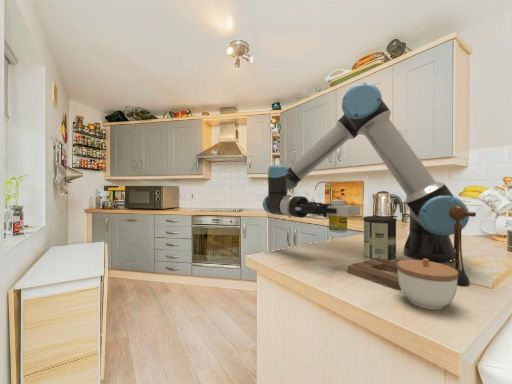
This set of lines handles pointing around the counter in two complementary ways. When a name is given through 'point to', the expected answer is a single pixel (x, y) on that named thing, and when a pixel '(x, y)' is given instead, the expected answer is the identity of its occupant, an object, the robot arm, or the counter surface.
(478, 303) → the counter surface
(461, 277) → the wooden tabletop sculpture
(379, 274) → the walnut socket plate
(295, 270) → the counter surface
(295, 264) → the counter surface
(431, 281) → the lidded jar
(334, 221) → the supplement bottle
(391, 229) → the coffee can
